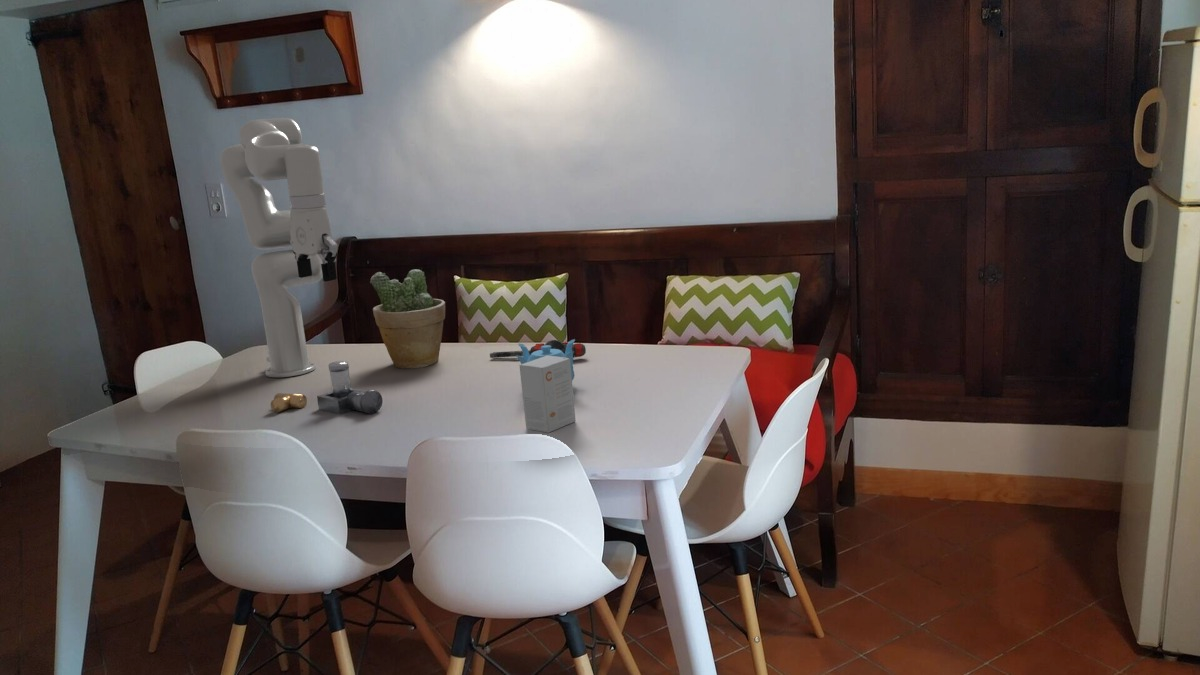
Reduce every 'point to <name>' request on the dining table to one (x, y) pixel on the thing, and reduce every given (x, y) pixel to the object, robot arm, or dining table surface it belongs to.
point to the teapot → (547, 354)
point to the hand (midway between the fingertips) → (317, 278)
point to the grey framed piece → (351, 402)
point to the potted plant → (409, 319)
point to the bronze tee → (287, 401)
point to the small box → (547, 393)
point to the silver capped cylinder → (340, 379)
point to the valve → (555, 344)
